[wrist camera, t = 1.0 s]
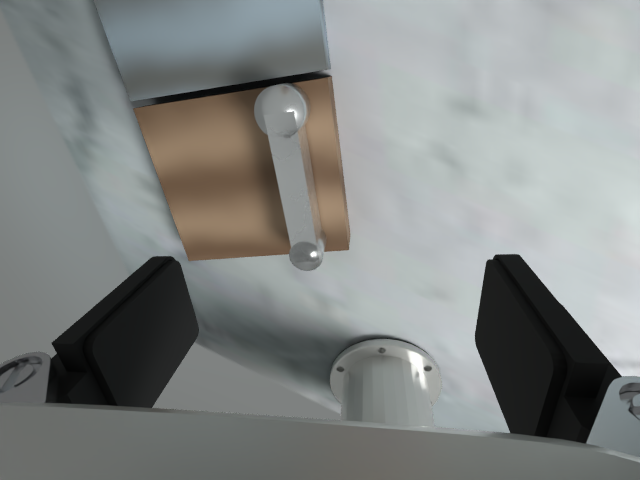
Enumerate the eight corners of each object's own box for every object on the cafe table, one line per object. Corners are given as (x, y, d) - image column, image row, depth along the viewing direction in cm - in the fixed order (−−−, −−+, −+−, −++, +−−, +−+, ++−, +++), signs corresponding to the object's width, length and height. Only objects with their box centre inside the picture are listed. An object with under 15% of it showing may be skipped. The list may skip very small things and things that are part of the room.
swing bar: (261, 86, 24) (248, 89, 21) (306, 79, 23) (298, 81, 21) (295, 253, 30) (288, 271, 27) (332, 250, 29) (328, 269, 26)
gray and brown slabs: (350, 234, 32) (347, 262, 27) (202, 245, 34) (178, 272, 30) (298, -203, 19) (278, -279, 15) (74, -133, 22) (2, -182, 18)
